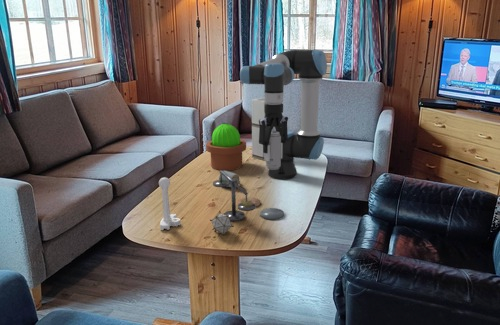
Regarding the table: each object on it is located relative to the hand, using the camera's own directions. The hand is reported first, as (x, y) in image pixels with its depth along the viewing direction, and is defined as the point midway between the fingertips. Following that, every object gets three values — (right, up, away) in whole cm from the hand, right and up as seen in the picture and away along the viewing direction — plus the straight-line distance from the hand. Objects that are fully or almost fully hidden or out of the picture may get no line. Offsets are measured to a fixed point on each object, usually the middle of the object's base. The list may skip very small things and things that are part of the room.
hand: (273, 159), depth 186 cm
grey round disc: (0, -23, +4) cm, 24 cm away
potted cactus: (-23, -4, +71) cm, 75 cm away
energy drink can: (0, -4, +1) cm, 4 cm away
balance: (-16, -24, +2) cm, 29 cm away
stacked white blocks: (0, +2, +87) cm, 87 cm away
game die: (-20, -29, -11) cm, 37 cm away
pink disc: (-10, -20, +17) cm, 28 cm away
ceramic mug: (-19, -13, +40) cm, 46 cm away
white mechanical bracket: (-41, -27, -4) cm, 49 cm away
